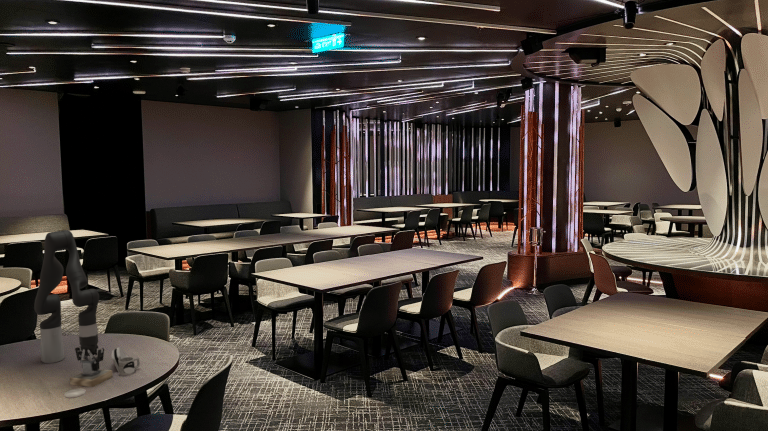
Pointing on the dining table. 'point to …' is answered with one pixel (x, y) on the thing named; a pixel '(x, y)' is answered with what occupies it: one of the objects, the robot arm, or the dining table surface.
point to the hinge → (118, 356)
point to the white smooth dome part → (75, 393)
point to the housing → (88, 367)
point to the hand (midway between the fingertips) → (91, 369)
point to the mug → (127, 366)
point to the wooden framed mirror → (91, 379)
